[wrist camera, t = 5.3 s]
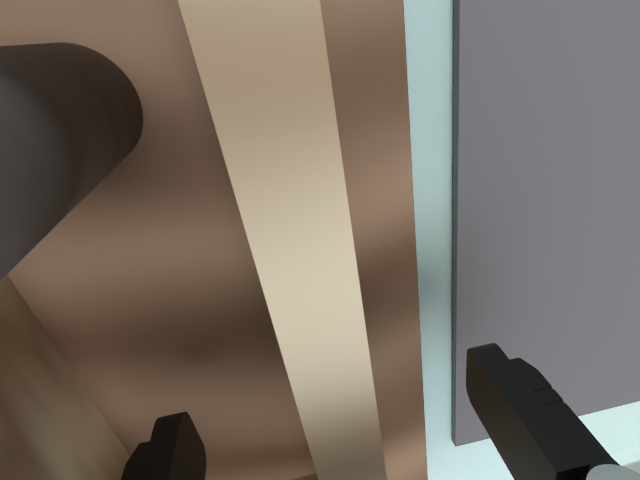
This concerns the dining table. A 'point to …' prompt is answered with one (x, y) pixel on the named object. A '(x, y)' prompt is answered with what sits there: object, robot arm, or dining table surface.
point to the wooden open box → (267, 249)
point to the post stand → (194, 227)
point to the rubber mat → (547, 196)
